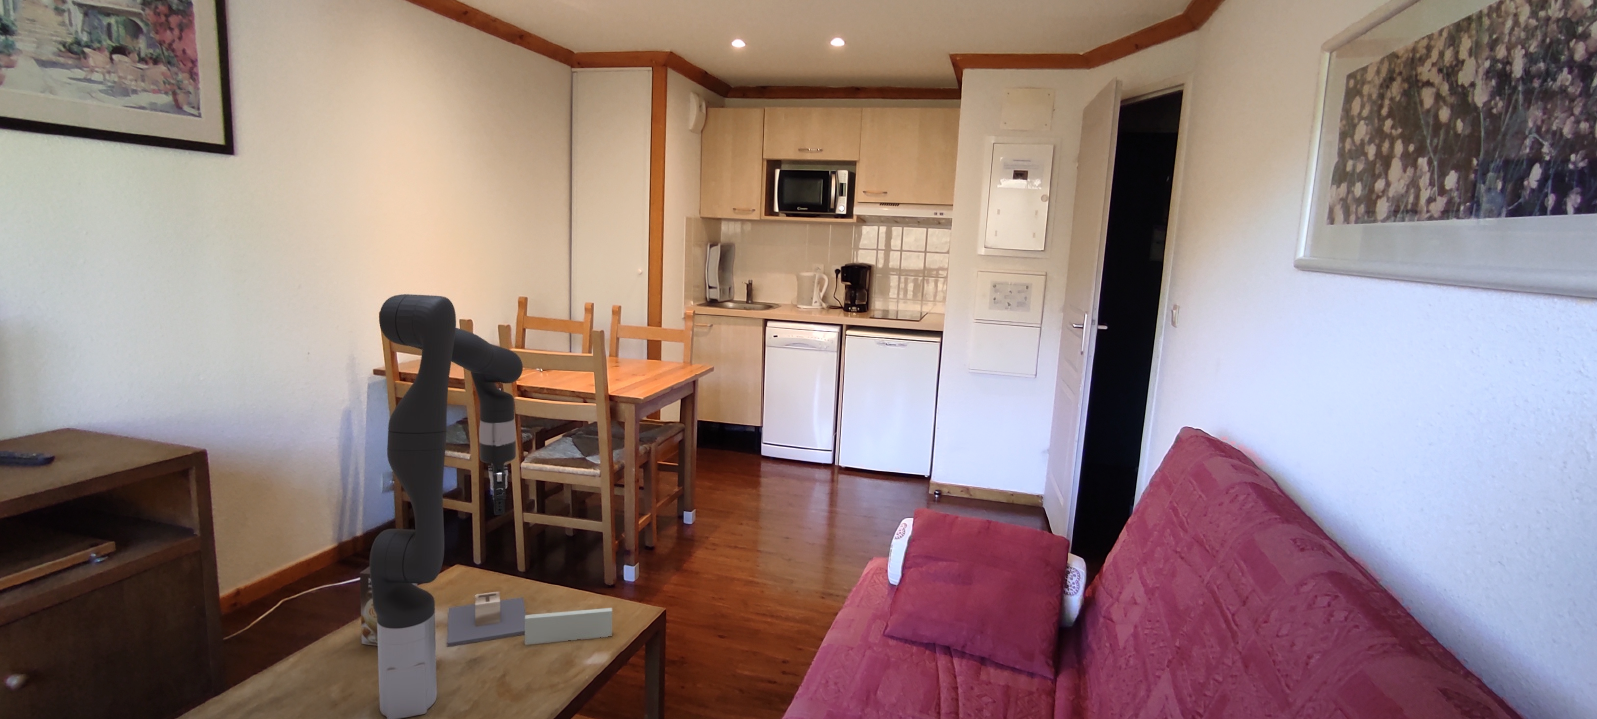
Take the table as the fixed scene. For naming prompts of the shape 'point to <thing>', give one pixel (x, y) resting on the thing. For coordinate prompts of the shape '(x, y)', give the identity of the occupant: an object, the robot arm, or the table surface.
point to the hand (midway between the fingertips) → (498, 507)
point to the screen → (568, 626)
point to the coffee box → (368, 610)
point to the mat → (467, 632)
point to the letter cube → (487, 608)
